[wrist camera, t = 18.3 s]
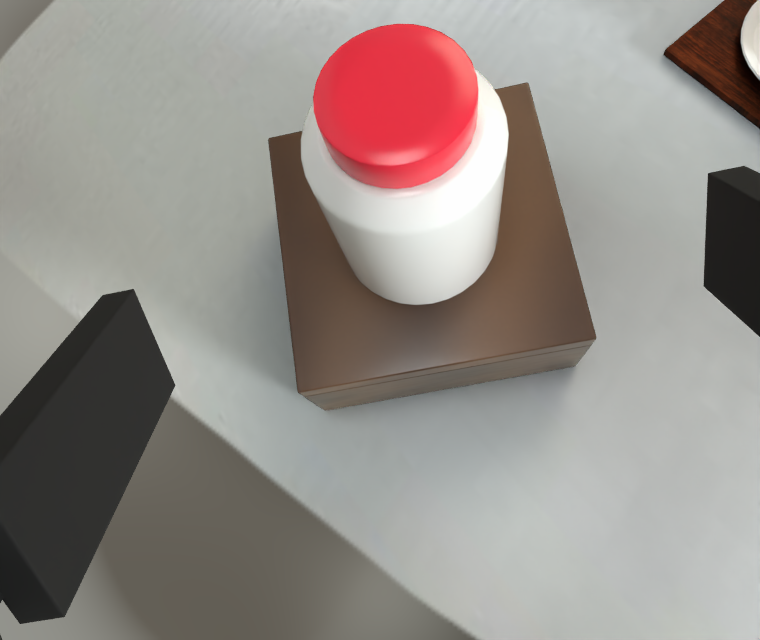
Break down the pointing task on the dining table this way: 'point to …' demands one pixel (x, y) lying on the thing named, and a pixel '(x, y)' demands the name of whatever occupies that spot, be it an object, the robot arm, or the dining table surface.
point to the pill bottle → (408, 162)
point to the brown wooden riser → (441, 319)
